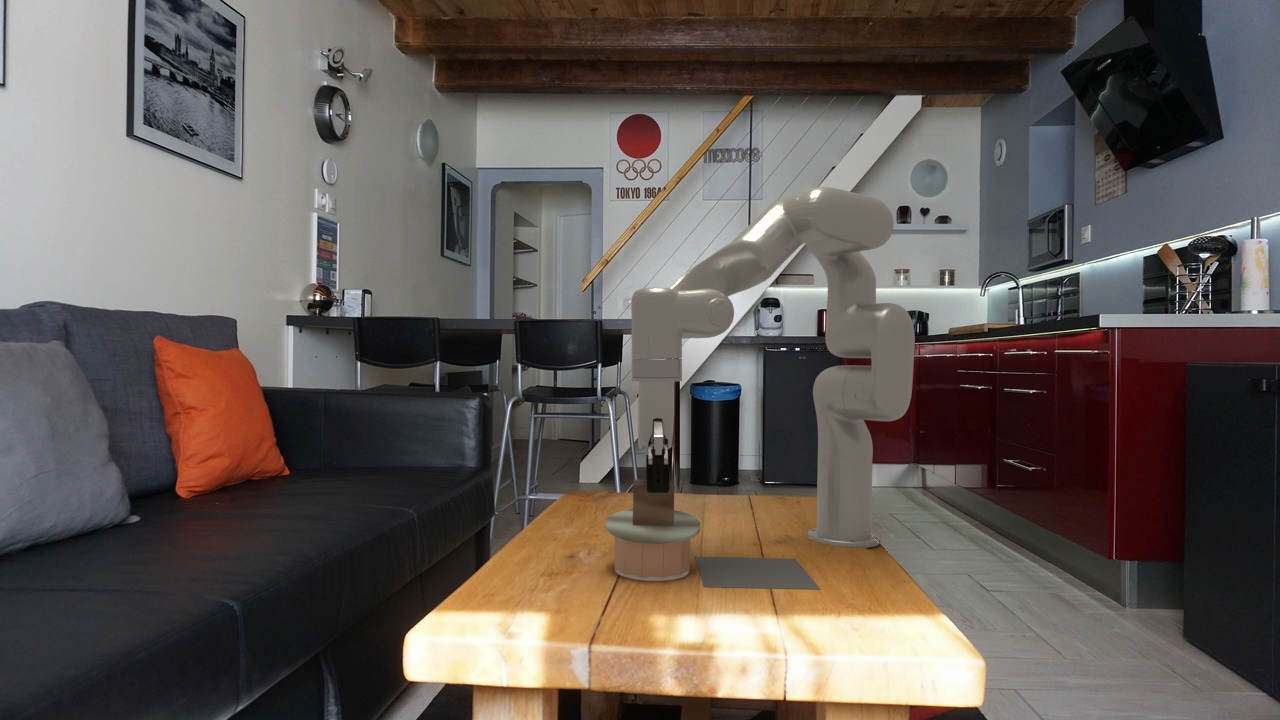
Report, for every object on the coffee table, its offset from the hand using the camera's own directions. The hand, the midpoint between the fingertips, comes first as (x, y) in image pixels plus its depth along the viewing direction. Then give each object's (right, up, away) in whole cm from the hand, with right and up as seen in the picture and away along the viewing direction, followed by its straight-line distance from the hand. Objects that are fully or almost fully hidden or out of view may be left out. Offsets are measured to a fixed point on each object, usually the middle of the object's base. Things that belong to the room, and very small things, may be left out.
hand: (657, 486), depth 106 cm
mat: (+14, -13, -1) cm, 19 cm away
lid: (-1, -6, 0) cm, 6 cm away
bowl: (-1, -13, -1) cm, 13 cm away
